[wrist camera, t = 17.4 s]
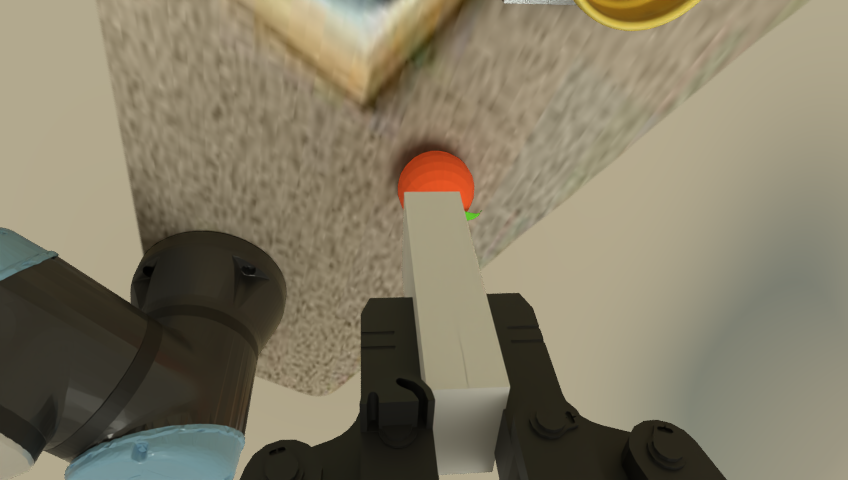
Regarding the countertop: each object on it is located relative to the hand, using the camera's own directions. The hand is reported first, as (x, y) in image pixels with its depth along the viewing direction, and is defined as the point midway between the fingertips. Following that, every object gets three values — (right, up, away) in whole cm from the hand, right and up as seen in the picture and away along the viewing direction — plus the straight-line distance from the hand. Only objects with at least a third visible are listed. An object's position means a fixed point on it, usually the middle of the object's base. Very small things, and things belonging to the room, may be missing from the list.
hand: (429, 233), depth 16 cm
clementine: (+1, +6, +39) cm, 39 cm away
